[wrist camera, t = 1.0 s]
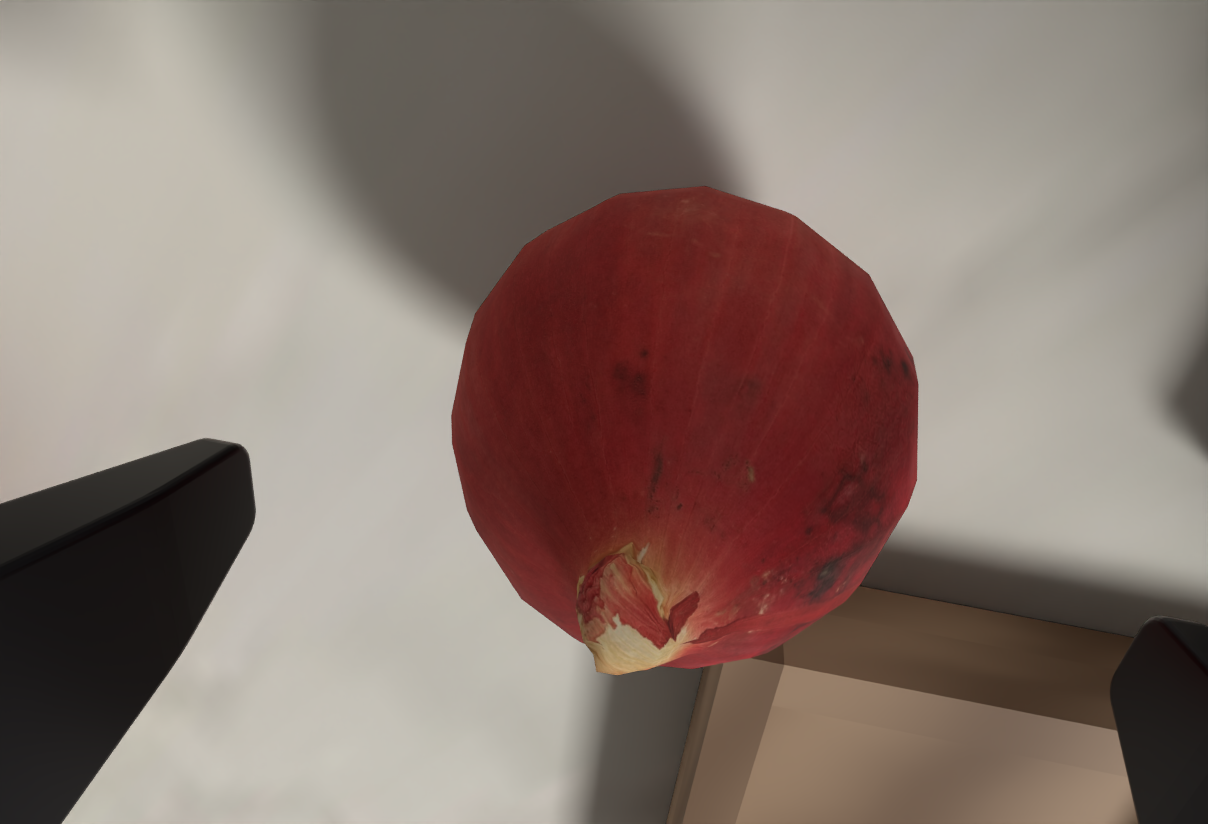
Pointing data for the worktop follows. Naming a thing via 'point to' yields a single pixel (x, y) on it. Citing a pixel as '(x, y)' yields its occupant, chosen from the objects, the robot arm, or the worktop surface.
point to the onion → (684, 427)
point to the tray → (910, 723)
